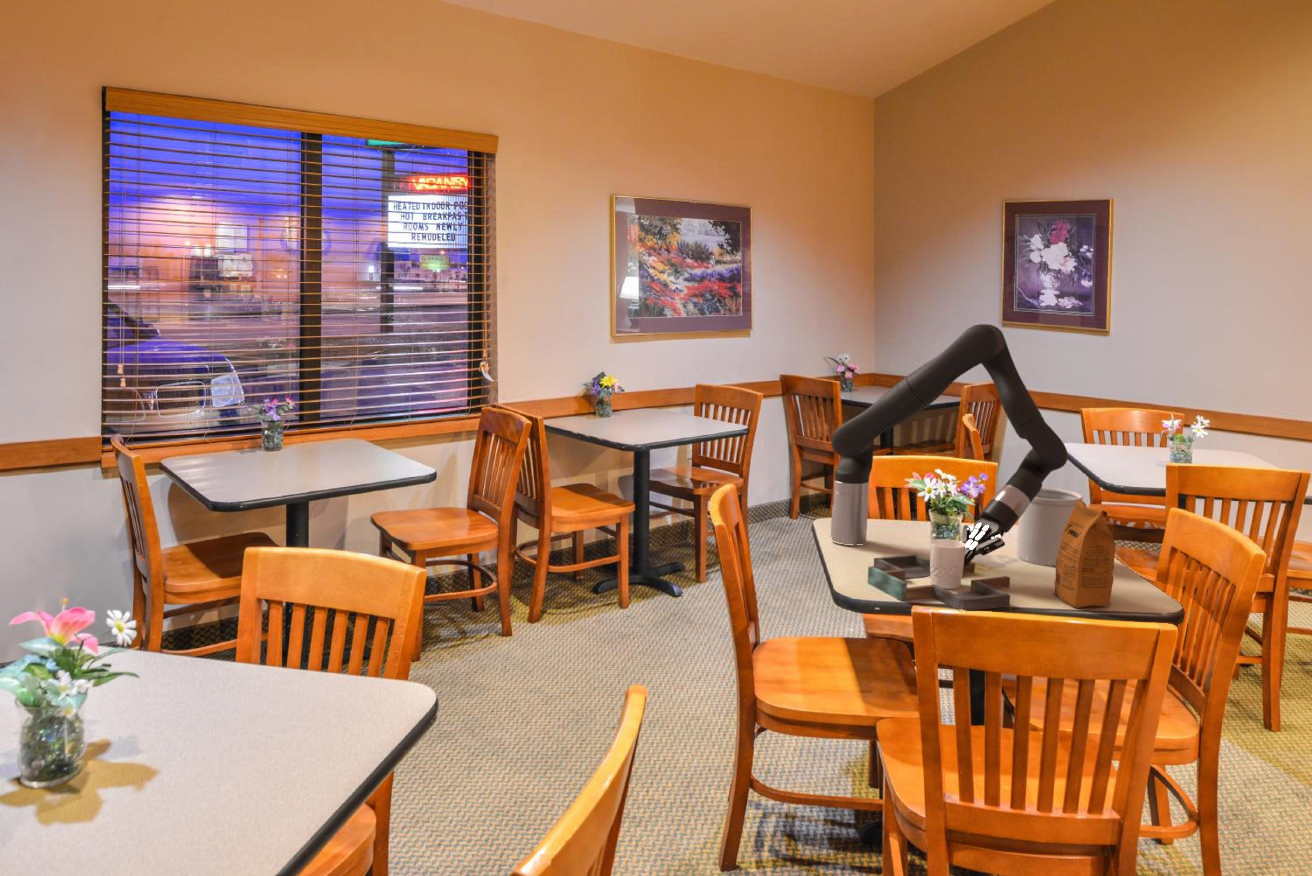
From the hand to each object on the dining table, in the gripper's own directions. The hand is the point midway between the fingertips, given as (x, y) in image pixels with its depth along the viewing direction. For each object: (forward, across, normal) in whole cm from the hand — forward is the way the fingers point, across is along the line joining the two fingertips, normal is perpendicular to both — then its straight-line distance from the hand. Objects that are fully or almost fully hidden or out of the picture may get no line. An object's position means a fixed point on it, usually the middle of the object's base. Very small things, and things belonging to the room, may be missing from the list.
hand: (960, 563), depth 214 cm
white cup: (+6, 0, +1) cm, 6 cm away
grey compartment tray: (+8, 0, -1) cm, 8 cm away
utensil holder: (-21, -10, +28) cm, 37 cm away
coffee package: (-9, +19, +16) cm, 26 cm away
